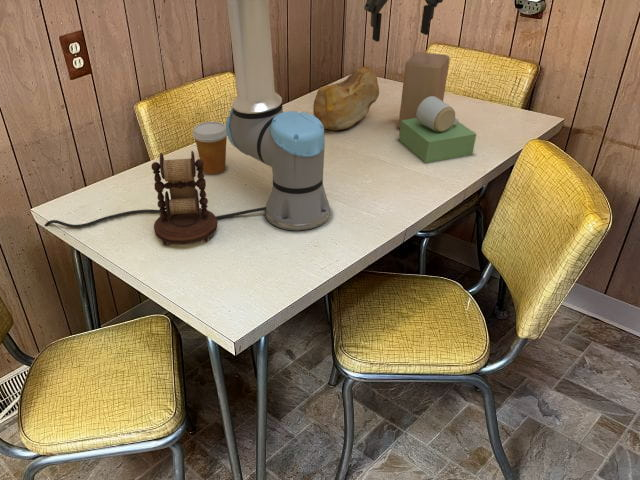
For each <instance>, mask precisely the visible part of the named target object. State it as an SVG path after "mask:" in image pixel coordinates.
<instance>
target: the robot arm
mask: <svg viewBox="0 0 640 480" xmlns="http://www.w3.org/2000/svg"><path fill="white" fill-rule="evenodd" d="M388 1H389V0H366V2H365V5H364V7H363V9H364V11H366V12H368V13H370V27H372V40H373V41H375V42H376V43H377V42H380V40H381V39H380V38H381V28H382V17H383V14H382V13H381V10H382V9H383V8H384V6H385V5H386V3H387V2H388ZM424 1H425V3H426V4H424V5H423V9H422V17H421V18H422V20H421V25H420V34H423V35H425V36H428V35H429V31H430V25H431V24H430V23H431V20H433V19H434V16H435V15H434V14H435V8H437V7H438V4H442V3H443V1H444V0H424ZM269 5H270V3H269V0H226V7H227V15H228V24H229V33H230V41H231V51H232V59H233V67H234V78H235V86H236V94H237V96H236V97H235V99H233V101H232V102H231V109H230V111H229V112H228V114H229V115H228V116H227V117H226V120H225V125H226V132H227V140H229V142H230V143H231V145H232V146H233V147H234V148H236V149H237V150H238V151H239V152H240V153H243V154H244V155H246V156H250V157H252V158H253V159H255V160H257V161H259V162H261V163H263V164H265V165H267V166H269V167H270V168H271V174H272V175H271V176H272V177H271V179H272V185H271V189H270V192H269V196H268V198H267V201H266V204H265V206H264V207H262V206H261V207H257V208H252V209H247V210H241V211H238V212H237V211H236V212H232V213H227V214H222V215H215V216H216V218H217V220H221V219H225V218H232V217H237V216H242V215H245V214H251V213H257V212H263V211H265V218H266V220H267V221H268V223H270V224H271V225H273V226H274V227H276V228H278V229H282V230H287V231H295V232H296V231H298V232H299V231H308V230H312V229H315V228H318V227H320V226H323V225H324V224H326V222H327V221H328V220H329V218H330V215H331V214H330V212H331V211H330V210H331V207H330V204H329V200H328V197H327V194H326V190H325V186H324V167H325V166H324V165H325V148H326V147H325V146H326V137H325V129H324V127H323V125H322V123H321V121H320V120H319V119H318V118H316V117H315V115H314V114H311V113H308V112H306V111H305V112H304V111H301V112H299V111H298V110H289V111H288V110H287V111H283V110H284V106H283V98H282V96H281V95H280V94H279V93H278V92H276V90H275V89H276V88H275V74H274V62H273V61H274V59H273V48H272V46H273V45H272V35H271V34H272V32H271V31H272V30H271V19H270V6H269ZM165 212H166V210H165ZM145 213H146V214H147V213H151V214H153V213H154V214H161V211H160V210H159V209H135V210H130V211H124V212H120V213H115V214H110V215H107V216H103V217H101V218H98V219H95V220H92V221H89V222H86V223H80V224H71V223H67V222H65V221H61V220H57V219H50V220H48V221H47V222H46V223H45V224H44V227H48V226H50V225H51V224H57V225H61V226H63V227H66V228H72V229H80V228H85V227H89V226H92V225H95V224H98V223H101V222H103V221H107V220H110V219H116V218H119V217H124V216H128V215H129V216H130V215H134V214H135V215H136V214H145Z"/></svg>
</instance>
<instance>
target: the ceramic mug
mask: <svg viewBox="0 0 640 480" xmlns="http://www.w3.org/2000/svg"><path fill="white" fill-rule="evenodd" d="M416 117H417V120H418V122H419V123H421V124H423V125H425V126H426V127H429V128H430V129H432V130H434V131H437V132H443V131H446V130H447V129H449V128H450V127H451V125H454V126H456V125H457V123H458V122H459V119H458V118H456V110H455V109H454V108H453V107H452V106H451V105H450V104H448V103H447V102H444V100H443V101H441V100H440V99H438V98H436V97H434V96H430V97H427V98H426V99H424V100H423V101H422V102H421V104H420V105H419V107H418V109H417V113H416Z"/></svg>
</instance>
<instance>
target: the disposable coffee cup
mask: <svg viewBox="0 0 640 480" xmlns="http://www.w3.org/2000/svg"><path fill="white" fill-rule="evenodd" d="M192 137H193V139H194V140H195V144H196V148H197V149H196V150H197V152H198V153H197V154H198V157H199V159H201V160H203V162H204V166H203V167H202V168H204V170H203V174H206V175H218V174H221V173H223V172H224V171H226V158H227V157H226V156H227V140H228V136H227V132H226V123H223V122H220V121H205V122H201V123H198V124H196V125H195V126H194V127H193V131H192Z"/></svg>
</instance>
